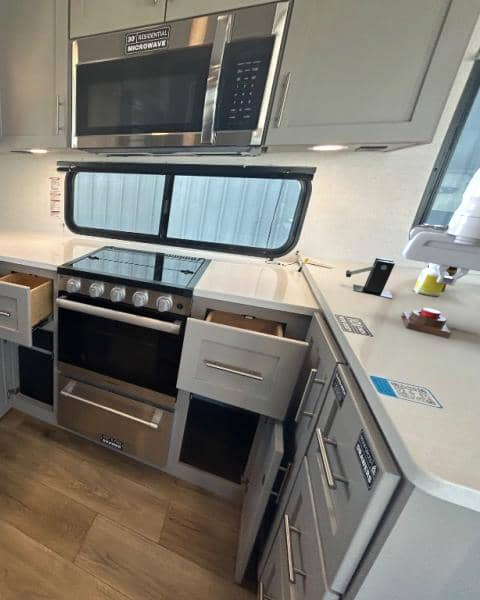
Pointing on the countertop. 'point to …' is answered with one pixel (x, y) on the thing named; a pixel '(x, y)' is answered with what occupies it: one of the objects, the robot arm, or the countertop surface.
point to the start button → (430, 313)
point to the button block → (426, 324)
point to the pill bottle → (429, 281)
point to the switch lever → (358, 271)
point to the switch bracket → (377, 279)
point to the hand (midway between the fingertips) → (444, 283)
